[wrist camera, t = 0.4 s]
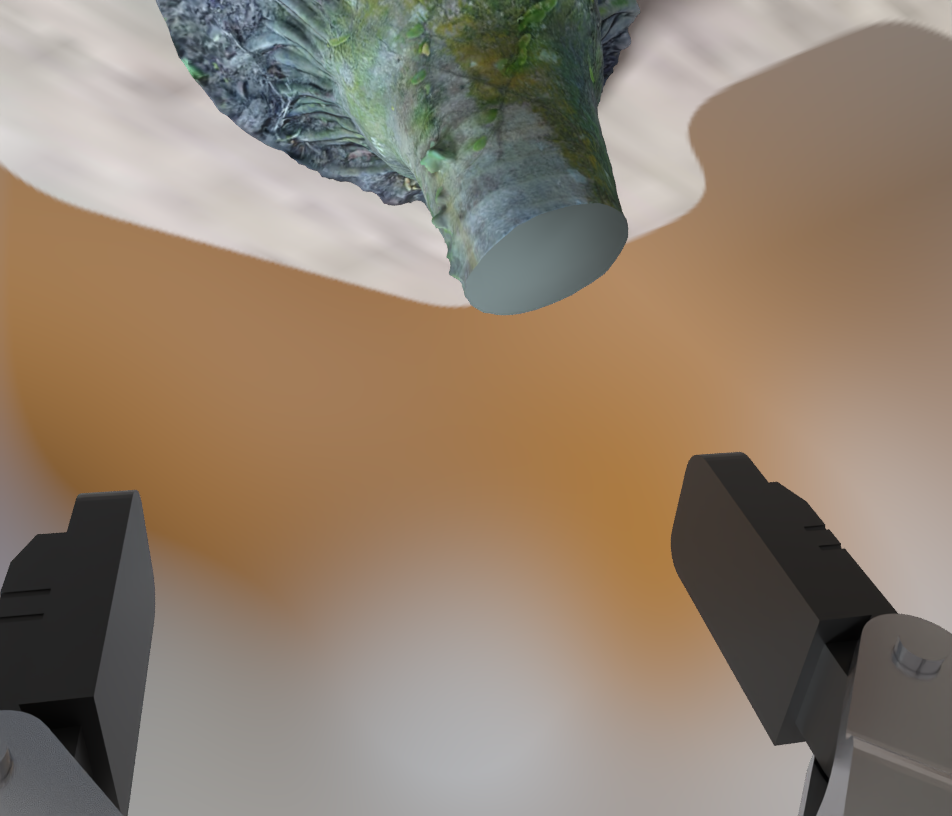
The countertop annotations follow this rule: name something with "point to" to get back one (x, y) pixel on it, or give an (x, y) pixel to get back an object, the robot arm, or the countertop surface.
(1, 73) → the countertop surface
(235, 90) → the tree stump
